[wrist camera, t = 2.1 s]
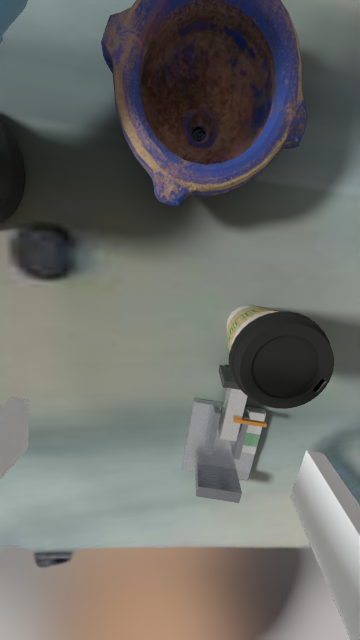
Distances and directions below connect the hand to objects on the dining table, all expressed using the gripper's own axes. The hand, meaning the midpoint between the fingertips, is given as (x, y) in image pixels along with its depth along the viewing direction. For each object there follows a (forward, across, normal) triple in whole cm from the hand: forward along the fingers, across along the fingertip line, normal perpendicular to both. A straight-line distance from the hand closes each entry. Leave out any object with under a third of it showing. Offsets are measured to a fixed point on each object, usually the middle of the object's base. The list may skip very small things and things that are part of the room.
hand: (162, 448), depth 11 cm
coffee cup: (+26, +10, +1) cm, 28 cm away
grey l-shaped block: (+26, +10, -20) cm, 34 cm away
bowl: (+26, -2, +25) cm, 36 cm away
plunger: (+25, +11, -11) cm, 30 cm away
